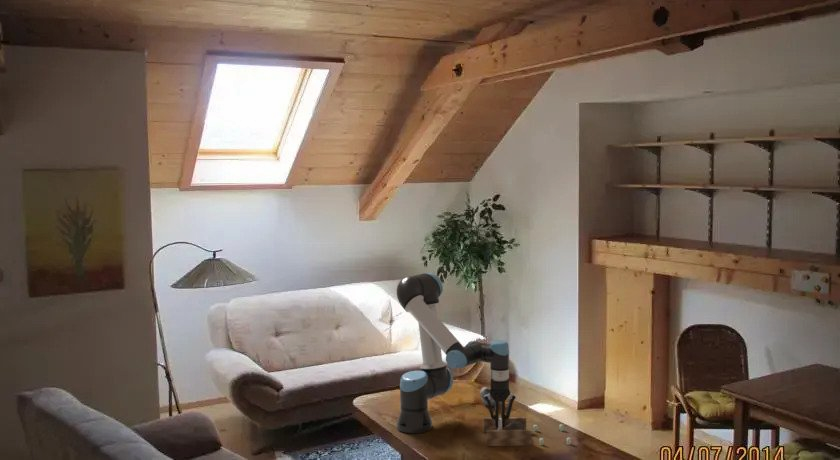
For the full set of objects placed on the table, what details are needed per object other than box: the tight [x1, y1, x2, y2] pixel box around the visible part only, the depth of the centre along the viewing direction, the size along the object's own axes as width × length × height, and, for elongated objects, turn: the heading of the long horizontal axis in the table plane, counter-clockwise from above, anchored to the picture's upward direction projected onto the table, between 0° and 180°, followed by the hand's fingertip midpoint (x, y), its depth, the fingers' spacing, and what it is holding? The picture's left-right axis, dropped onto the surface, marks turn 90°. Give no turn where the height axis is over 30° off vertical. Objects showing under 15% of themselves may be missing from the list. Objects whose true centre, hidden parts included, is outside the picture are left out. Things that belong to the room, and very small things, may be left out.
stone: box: [503, 421, 525, 430], centre depth 308 cm, size 10×8×10 cm
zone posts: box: [533, 423, 572, 446], centre depth 309 cm, size 13×17×2 cm
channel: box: [482, 416, 533, 447], centre depth 309 cm, size 18×16×6 cm
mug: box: [479, 386, 501, 408], centre depth 348 cm, size 10×12×10 cm
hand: (500, 434), depth 309 cm, fingers closed
